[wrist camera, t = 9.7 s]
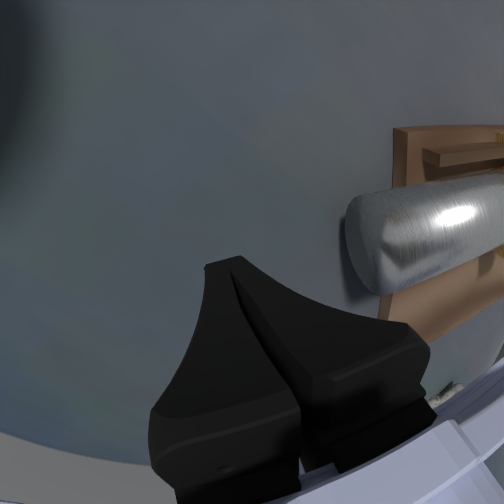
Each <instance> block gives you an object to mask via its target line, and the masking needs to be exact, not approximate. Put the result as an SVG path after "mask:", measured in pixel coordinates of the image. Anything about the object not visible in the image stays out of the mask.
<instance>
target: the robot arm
mask: <svg viewBox="0 0 504 504" xmlns="http://www.w3.org/2000/svg"><path fill="white" fill-rule="evenodd" d="M204 270H205V287H204V294H203V301H202V305H201V310H200V314H199V318H198V322H197V325H196V328H195V331H194V334H193V337H192V339H191V342H190V344H189V347H188V349H187V351H186V354H185V356H184V358H183V360H182V362H181V364H180V366H179V368H178V369H177V371H176V373H175V375H174V377H173V378H172V380H171V382H170V384H169V385H168V387H167V388H166V390H165V391H164V393H163V394H162V395H161V397H160V398H159V400H158V401H157V402H156V404H155V405H154V407H153V408H152V409H151V412H150V419H149V430H148V446H149V454H150V460H151V467H152V469H153V470H154V472H155V473H156V474H157V475H158V476H160V478H161V479H163V480H164V481H165V482H166V483H168V484H169V485H170V486H171V487H172V488H173V489H174V490H175V495H176V499H177V504H504V491H503V489H502V488H501V487H500V485H499V484H498V482H497V481H496V479H495V478H494V477H493V475H492V474H491V472H490V471H489V469H488V468H487V467H486V465H485V464H484V463H483V461H484V460H486V459H487V458H488V457H489V456H490V455H491V454H492V453H493V452H494V451H495V450H497V449H498V448H499V447H500V446H501V445H502V444H503V443H504V357H503V358H502V359H500V360H499V361H498V362H497V363H496V364H494V365H493V366H492V367H491V368H490V369H488V370H487V371H486V372H485V373H483V374H482V375H481V376H479V377H478V378H477V379H476V380H474V381H473V382H472V383H470V384H469V385H468V386H466V387H465V388H463V389H462V390H461V391H459V392H458V393H456V394H455V395H454V396H452V397H451V398H449V399H448V400H446V401H445V402H443V403H442V404H440V405H439V406H437V407H436V408H434V409H432V407H431V406H430V405H429V404H428V402H427V401H426V400H425V398H424V397H425V395H426V391H425V390H424V388H423V387H422V386H421V384H420V382H421V379H422V377H423V375H424V372H425V370H426V368H427V365H428V362H429V359H430V347H429V346H428V345H427V344H426V342H425V341H424V340H423V339H422V338H421V337H420V336H419V334H418V333H417V332H416V331H415V330H414V329H413V328H412V327H411V326H409V325H408V324H407V323H404V322H396V321H388V320H381V319H375V318H370V317H365V316H360V315H356V314H352V313H348V312H345V311H342V310H338V309H335V308H332V307H329V306H326V305H324V304H321V303H318V302H316V301H314V300H311V299H309V298H307V297H304V296H302V295H300V294H298V293H296V292H294V291H292V290H291V289H289V288H287V287H285V286H284V285H282V284H280V283H279V282H277V281H276V280H274V279H273V278H271V277H270V276H268V275H267V274H265V273H264V272H262V271H261V270H259V269H258V268H257V267H255V266H254V265H253V264H251V263H250V262H249V261H248V260H246V259H245V258H244V257H242V256H241V255H239V256H236V257H232V258H228V259H224V260H221V261H217V262H213V263H209V264H206V266H205V267H204ZM0 504H23V503H17V502H9V501H1V500H0Z"/></svg>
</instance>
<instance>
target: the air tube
mask: <svg viewBox="0 0 504 504" xmlns="http://www.w3.org/2000/svg"><path fill="white" fill-rule="evenodd" d="M345 238H346V244H347V249H348V253H349V256H350V259H351V262H352V265H353V267H354V269H355V271H356V273H357V275H358V277H359V278H360V280H361V281H362V283H363V284H364V285H365V287H366V288H367V289H368V290H370V291H371V292H372V293H374V294H375V295H378V296H387V295H390V294H392V293H395V292H397V291H400V290H402V289H405V288H407V287H410V286H412V285H415V284H417V283H420V282H422V281H424V280H427V279H429V278H431V277H434V276H436V275H438V274H441V273H443V272H445V271H448V270H450V269H452V268H454V267H457V266H459V265H461V264H463V263H466V262H468V261H470V260H472V259H474V258H476V257H478V256H481V255H483V254H485V253H487V252H489V251H491V250H493V249H495V248H497V247H499V246H501V245H503V244H504V167H498V168H494V169H492V170H490V171H485V172H479V173H474V174H468V175H462V176H457V177H452V178H446V179H441V180H436V181H430V182H425V183H420V184H415V185H410V186H405V187H400V188H395V189H390V190H385V191H380V192H375V193H370V194H365V195H360V196H357V197H355V198H354V199H353V200H352V201H351V202H350V204H349V206H348V208H347V211H346V216H345Z"/></svg>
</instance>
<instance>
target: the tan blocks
mask: <svg viewBox="0 0 504 504" xmlns="http://www.w3.org/2000/svg"><path fill="white" fill-rule="evenodd" d="M496 142H498V143H501V144H503V145H504V132H496ZM492 251H493V252H494V253H496V254H497V255H499V256H500V257H502V258H503V259H504V244H503V245H501V246H499V247H497V248H495V249H493V250H492Z"/></svg>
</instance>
